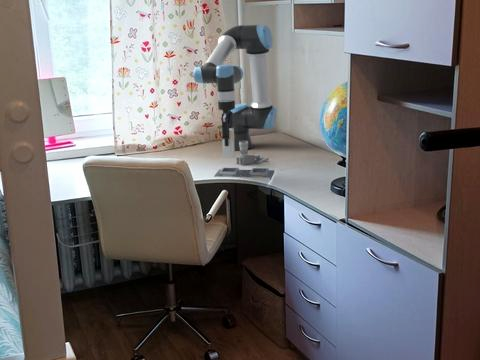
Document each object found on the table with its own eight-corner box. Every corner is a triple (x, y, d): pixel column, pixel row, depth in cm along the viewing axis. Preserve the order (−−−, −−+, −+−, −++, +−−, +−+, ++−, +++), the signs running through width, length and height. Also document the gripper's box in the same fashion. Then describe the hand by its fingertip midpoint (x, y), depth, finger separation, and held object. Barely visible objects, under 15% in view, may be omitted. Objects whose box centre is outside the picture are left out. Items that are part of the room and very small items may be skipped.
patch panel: (219, 171, 300) (219, 166, 299) (274, 172, 295) (274, 167, 294) (213, 178, 289) (213, 173, 288) (270, 179, 284) (270, 174, 283)
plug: (225, 155, 294) (223, 127, 290) (235, 155, 293) (234, 127, 289) (223, 158, 289) (221, 130, 286) (233, 158, 289) (232, 130, 285)
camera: (232, 141, 308) (258, 136, 316) (233, 164, 311) (258, 160, 319) (243, 144, 301) (268, 139, 309) (243, 168, 304) (268, 163, 312)
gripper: (222, 96, 292) (224, 146, 299) (213, 104, 276) (216, 156, 283) (238, 96, 291) (240, 146, 298) (230, 103, 275) (233, 156, 281)
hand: (228, 151), depth 290 cm, fingers closed on plug, 4 cm apart
